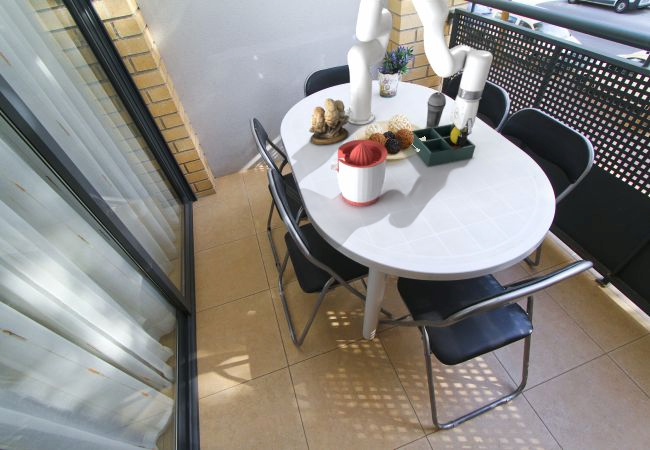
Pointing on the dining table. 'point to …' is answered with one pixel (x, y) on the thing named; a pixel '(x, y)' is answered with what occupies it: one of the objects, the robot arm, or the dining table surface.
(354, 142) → the citrus juicer
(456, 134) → the lemon
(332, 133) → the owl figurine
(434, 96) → the beverage cup
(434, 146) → the divided storage tray
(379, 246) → the dining table surface
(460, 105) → the robot arm
